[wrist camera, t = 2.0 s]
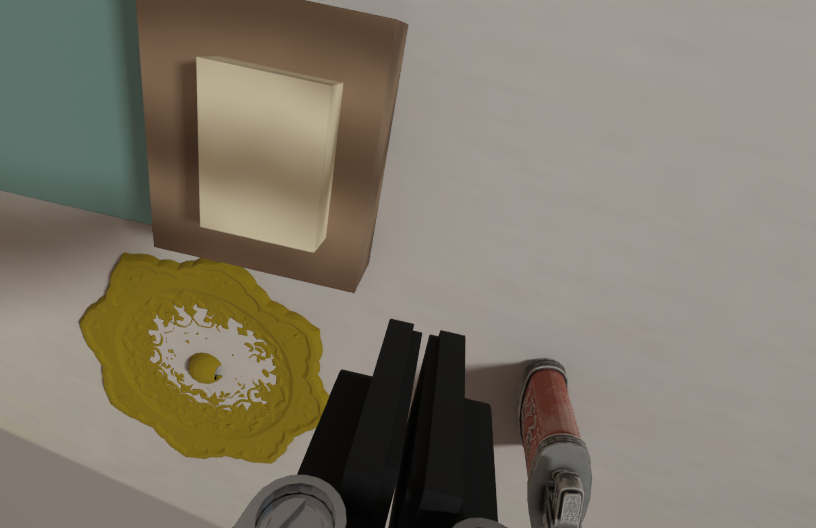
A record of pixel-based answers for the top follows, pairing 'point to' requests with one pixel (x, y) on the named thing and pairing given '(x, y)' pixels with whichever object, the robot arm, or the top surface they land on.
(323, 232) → the tile
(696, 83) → the top surface
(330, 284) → the brown flat block
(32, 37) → the mat
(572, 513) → the lighter
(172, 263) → the decorative medallion
